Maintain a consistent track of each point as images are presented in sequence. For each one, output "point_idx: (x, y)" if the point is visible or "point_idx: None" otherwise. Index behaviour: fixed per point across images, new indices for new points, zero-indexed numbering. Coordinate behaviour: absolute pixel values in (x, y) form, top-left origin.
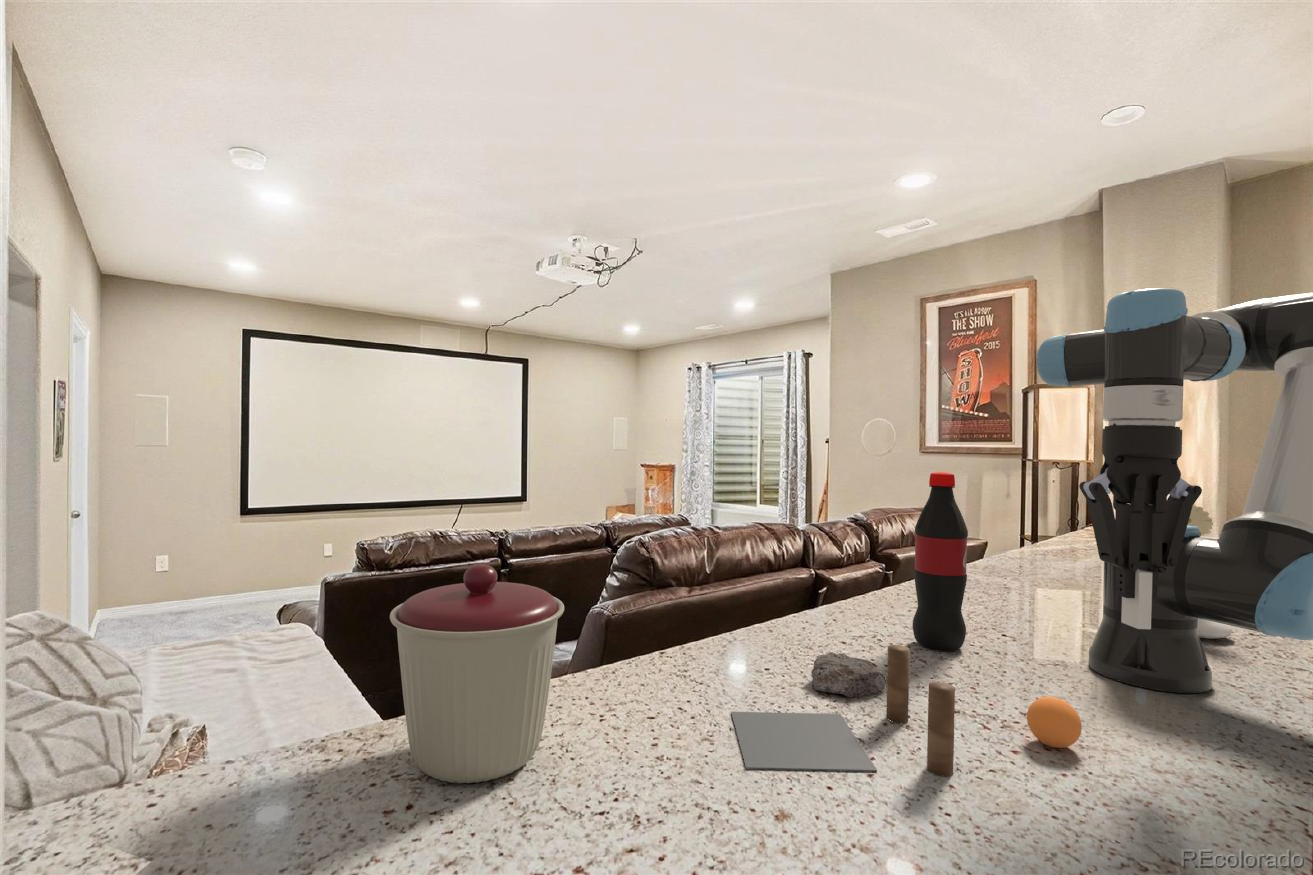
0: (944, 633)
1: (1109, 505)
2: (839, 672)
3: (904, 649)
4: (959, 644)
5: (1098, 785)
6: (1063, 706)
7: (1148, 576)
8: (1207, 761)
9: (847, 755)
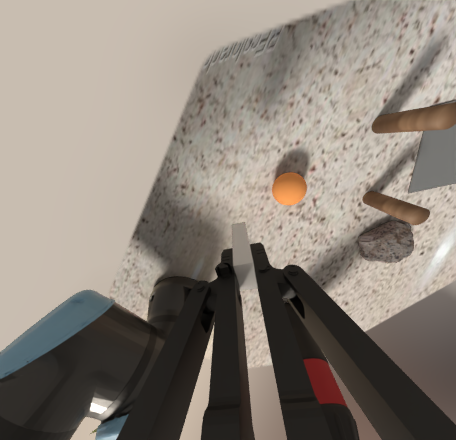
0: (294, 312)
1: (416, 425)
2: (402, 235)
3: (415, 215)
4: None
5: (282, 132)
6: (291, 185)
7: (239, 260)
8: (199, 188)
9: None
